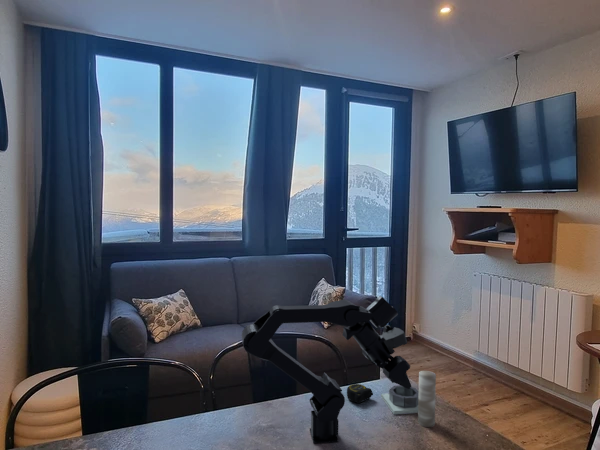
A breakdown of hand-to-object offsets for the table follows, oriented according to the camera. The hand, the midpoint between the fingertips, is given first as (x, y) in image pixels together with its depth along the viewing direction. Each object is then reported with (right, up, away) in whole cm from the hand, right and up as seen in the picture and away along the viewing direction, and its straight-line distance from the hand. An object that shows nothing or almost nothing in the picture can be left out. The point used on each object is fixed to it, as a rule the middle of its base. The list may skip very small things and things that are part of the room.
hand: (401, 380), depth 112 cm
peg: (+8, -13, +3) cm, 15 cm away
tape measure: (-9, -13, +16) cm, 23 cm away
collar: (+4, -12, +13) cm, 19 cm away
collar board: (+4, -12, +13) cm, 19 cm away
